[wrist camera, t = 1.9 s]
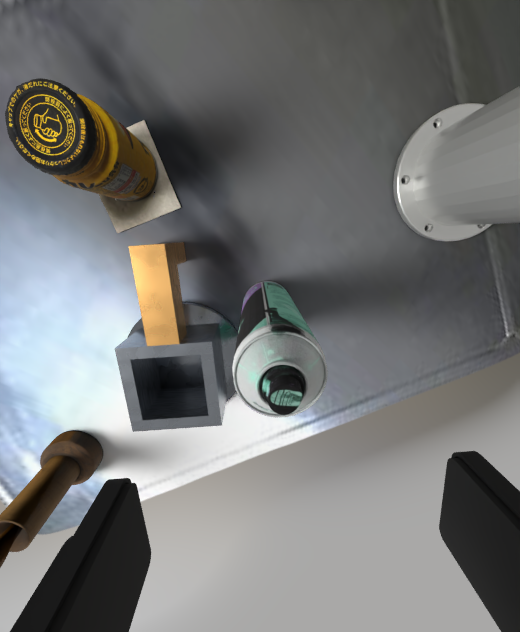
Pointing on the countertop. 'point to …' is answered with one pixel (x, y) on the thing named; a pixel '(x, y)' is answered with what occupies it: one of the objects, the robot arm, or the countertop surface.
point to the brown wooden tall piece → (48, 488)
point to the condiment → (90, 151)
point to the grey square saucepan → (174, 349)
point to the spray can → (276, 354)
